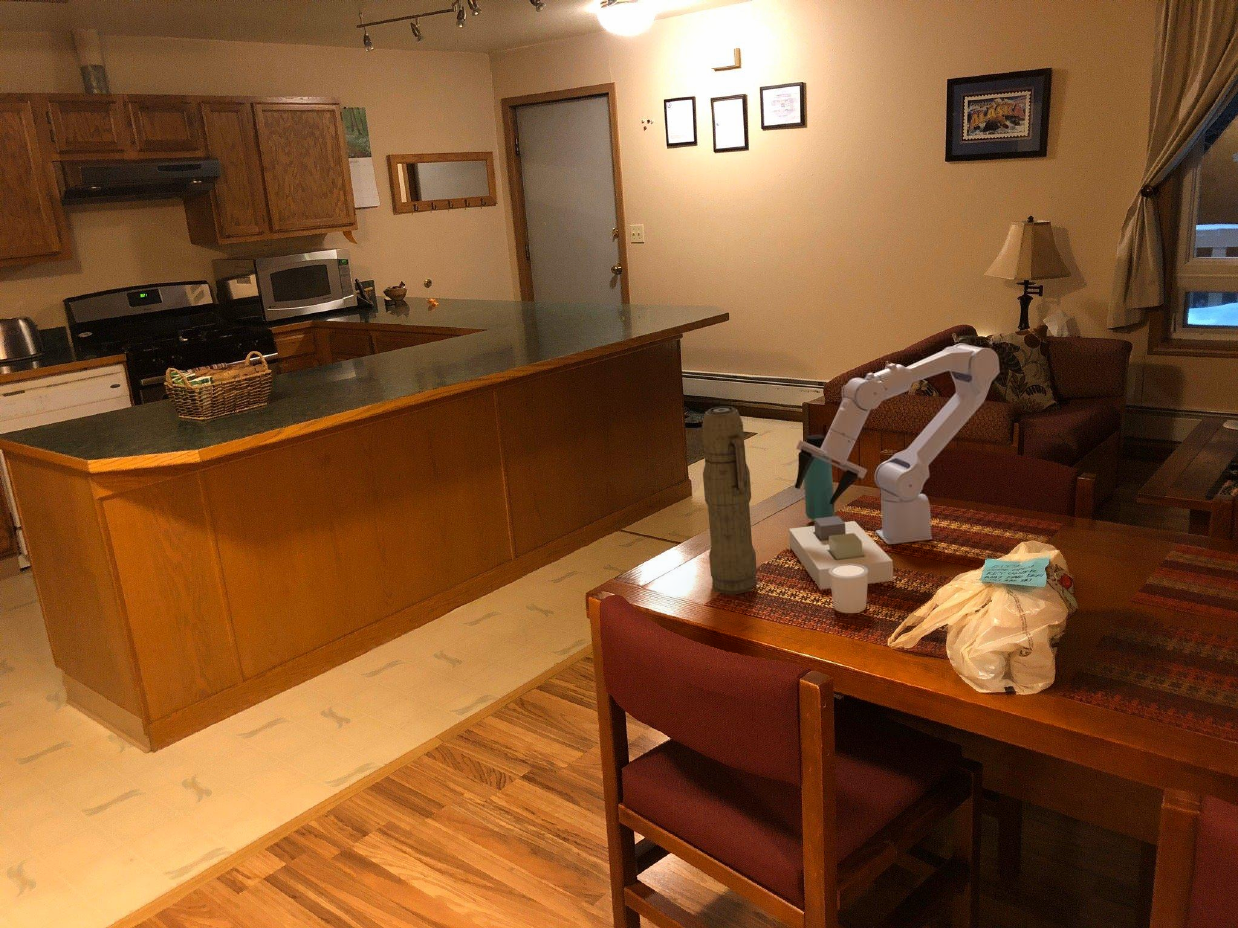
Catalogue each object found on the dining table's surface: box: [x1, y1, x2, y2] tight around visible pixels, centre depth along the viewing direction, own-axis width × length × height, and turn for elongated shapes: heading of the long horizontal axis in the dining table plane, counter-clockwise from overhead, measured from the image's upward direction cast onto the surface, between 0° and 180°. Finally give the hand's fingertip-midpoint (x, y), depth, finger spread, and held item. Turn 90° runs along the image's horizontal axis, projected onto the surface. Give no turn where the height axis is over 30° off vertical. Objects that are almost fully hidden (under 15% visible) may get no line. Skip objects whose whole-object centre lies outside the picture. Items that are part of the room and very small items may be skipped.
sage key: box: [829, 533, 862, 559], centre depth 188 cm, size 5×5×3 cm
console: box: [788, 520, 894, 590], centre depth 195 cm, size 14×24×4 cm, turn 4°
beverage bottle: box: [803, 434, 836, 521], centre depth 217 cm, size 6×7×20 cm
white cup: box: [829, 564, 868, 614], centre depth 174 cm, size 7×7×7 cm
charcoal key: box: [813, 515, 846, 540], centre depth 199 cm, size 5×5×3 cm
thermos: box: [701, 406, 758, 595], centre depth 185 cm, size 9×12×35 cm
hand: (814, 496), depth 198 cm, fingers open, 7 cm apart
